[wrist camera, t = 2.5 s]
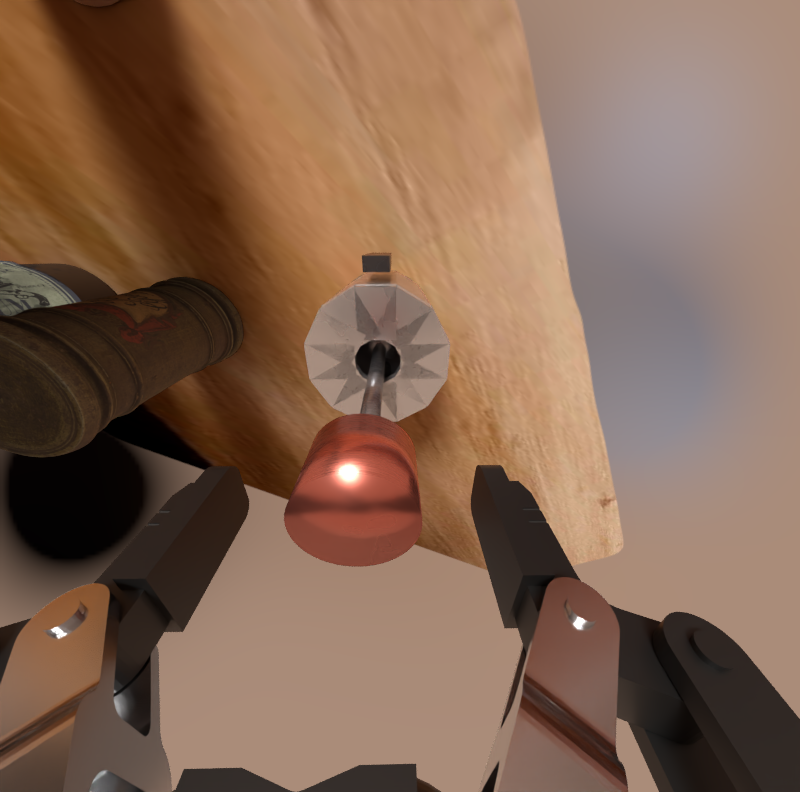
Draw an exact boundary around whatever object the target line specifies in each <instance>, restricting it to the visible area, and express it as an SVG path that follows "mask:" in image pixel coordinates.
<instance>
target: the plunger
mask: <svg viewBox="0 0 800 792" xmlns="http://www.w3.org/2000/svg"><path fill="white" fill-rule="evenodd" d="M356 357H357V365H358V366H359V367H360V369H361V370H362V372H363V373H364V374H366V375H368V377H367V382H366V387H365V392H364V397H363V401H362V406H361V411H360V414H350V415H345V416H342V417H339V418H337V419H334V420H332V421H331V422H329V423H328V424H326V425H325V426H324V427H323V428H322V429H321V430H320V431H319V432H318V434H317V435H316V437H315V439H314V441H313V444H312V446H311V449H310V451H309V453H308V456H307V458H306V461H305V463H304V465H303V468H302V470H301V473H300V475H299V477H298V480H297V482H296V484H295V487H294V489H293V492H292V494H291V496H290V499H289V502H288V504H287V506H286V509H285V513H284V521H285V526H286V529H287V532H288V533H289V535H290V537H291V538H292V540H293V541H294V542H295V543H296V544H297V545H298V546H299V547H300V548H301V549H303V550H304V551H305V552H307V553H308V554H310V555H312V556H314V557H316V558H318V559H320V560H323V561H326V562H329V563H333V564H337V565H343V566H370V565H376V564H381V563H384V562H388V561H390V560H393V559H395V558H397V557H399V556H400V555H402V554H404V553H405V552H407V551H408V550H409V549H410V548H411V547H412V546H413V545H414V544H415V542H416V541H417V539H418V538H419V536H420V533H421V530H422V513H421V503H420V493H419V483H418V473H417V463H416V453H415V448H414V445H413V442H412V440H411V438H410V437H409V435H408V434H407V433H406V432H405V431H404V430H403V429H402V428H401V427H400V426H399V425H397V424H396V423H394V422H392V421H391V420H389V419H386V418H384V417H381V405H382V393H383V381H384V378H386V377H388V376H390V375H392V374H394V373H395V372H396V370H397V368H398V367H399V365H400V354H399V353H398V351H397V350H396V348H395V346H393V345H391V344H390V343H388V342H386V341H384V340H370V341H368V342H367V343H365V344H363V345H362V346H360V348H359V350H358V352H357V353H356Z"/></svg>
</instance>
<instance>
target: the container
mask: <svg viewBox="0 0 800 792" xmlns="http://www.w3.org/2000/svg"><path fill="white" fill-rule="evenodd" d="M242 340H243V325H242V321H241V318H240V316H239V314H238V312H237V310H236V308H235V307H234V305H233V304H232V303H231V301H230V300H229V299H228V298H227V297H226V296H225V295H224V294H223V293H222V292H221V291H219V290H218V289H217V288H215V287H214V286H212V285H210V284H208V283H206V282H203V281H201V280H197V279H193V278H187V277H177V278H172V279H168V280H166V281H160V282H157V283H155V284H153V285H152V286H151V287H149V288H141V289H136V290H134V291H132V292H130V293H125V294H120V295H114V296H109V297H104V298H98V299H93V300H87V301H82V302H76V303H71V304H65V305H60V306H54V307H38V308H31V309H27V310H24V311H22V312H20V313H18V314H17V315H13V316H2V315H0V449H3V450H6V451H9V452H13V453H16V454H21V455H26V456H33V457H51V456H58V455H63V454H66V453H69V452H72V451H75V450H77V449H79V448H82V447H83V446H85V445H87V444H88V443H89V442H90V441H91V440H92V439H93V438H94V437H95V435H96V434H97V433H98V432H99V431H101V430H102V429H104V428H105V427H106V426H107V425H108V423H109V422H110V421H111V420H113V419H114V418H116V417H120V416H123V415H126V414H128V413H130V412H132V411H133V410H135V409H136V408H137V407H138V405H140V404H142V403H143V402H145V401H147V400H148V399H150V398H152V397H153V396H155V395H157V394H158V393H160V392H162V391H163V390H165V389H166V388H168V387H170V386H171V385H173V384H174V383H176V382H178V381H179V380H181V379H183V378H184V377H186V376H188V375H190V374H192V373H195V372H198V371H200V370H202V369H204V368H205V367H206V366H208V365H213V364H216V363H219V362H221V361H222V360H224V359H226V358H228V357H230V356H232V355H233V354H234V353H235V352H236V351H237V350H238V349H239V347H240V345H241V343H242Z"/></svg>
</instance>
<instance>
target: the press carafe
mask: <svg viewBox="0 0 800 792" xmlns="http://www.w3.org/2000/svg"><path fill="white" fill-rule="evenodd" d="M362 264H363V272H367V273H365V274H363V275H362V276H360V277H358V278H357V279H355V280H354V281H353V282H351V283H350V284H348V285H347V286H346V287H344V288H343V289H342V290H341V291H339V292H338V293H337V294H336V295H334V296H333V297H332V298H331V299H329V300H328V301H327V302H326V303H325V304H323V305H322V306H321V308H320V309H319V310H318V313H317V315H316V317H315V320H314V322H313V324H312V326H311V329H310V331H309V333H308V336H307V338H306V340H305V342H304V348H305V354H306V360H307V367H308V373H309V379H310V381H311V382H312V383H313V385H314V386H315V387H316V388H317V390H318V391H319V392H320V393H321V395H322V396H323V397H324V398H325V400H326V401H327V402H328V403H329V405H330V406H331V407H332V406H333V407H332V408H334V409H336V410H338V411H341V412H343V413H345V414H347V415H350V414H360V411H361V406H362V401H363V397H364V392H365V387H366V382H367V377H368V375H366V374H364V373H363V372H362V370H361V369H360V367H359V366H358V365H357V357H356V353H357V352H358V350H359V348H360V346H362V345H363V344H365V343H367V342H368V341H370V340H384V341H386V342H388V343H390V344H391V345H393V346H395V348H396V350H397V351H398V353H399V354H400V365H399V367H398V368H397V370H396V372H395V373H394V374H392V375H390V376H388V377H386V378H384V381H383V393H382V405H381V417H384V418H386V419H389V420H391V421H392V422H397V421H400V420H402V419H404V418H406V417H408V416H410V415H412V414H414V413H416V412H418V411H420V410H422V409H424V408H426V407H427V406H428V405H429V404H430V402H431V401H432V400H433V398H434V397H435V395H436V394H437V393H438V391H439V390H440V388H441V387H442V386H443V384H444V383H445V381H446V380H447V374H448V363H449V352H450V342H449V339H448V337H447V335H446V333H445V331H444V329H443V327H442V325H441V323H440V321H439V319H438V317H437V315H436V313H435V311H434V309H433V307H432V306H431V304H430V302H429V301H428V299H427V297H426V296H425V294H424V293H423V291H422V289H421V288H420V286H419V285H418V284H417V283H415V282H413V281H412V280H411V279H409V278H408V277H406V276H404V275H403V274H401V273H399V272H398V271H390V269H391V253H370V254H366V255H362Z"/></svg>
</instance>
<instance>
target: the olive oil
mask: <svg viewBox="0 0 800 792" xmlns="http://www.w3.org/2000/svg"><path fill="white" fill-rule="evenodd" d="M114 295H116V294H115V292H114V291H113V290H112V289H111V288H110V287H109V286H108V285H106V284H105V283H104V282H103V281H101V280H100V279H99V278H97V277H96V276H94V275H93V274H91V273H89V272H87V271H85V270H83V269H80V268H78V267H75V266H71V265H66V264H15V262H11V261H0V315H2V316H13V315H17V314H18V313H20V312H22V311H24V310H27V309H31V308H38V307H54V306H60V305H65V304H71V303H76V302H82V301H87V300H93V299H98V298H104V297H109V296H114Z"/></svg>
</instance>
